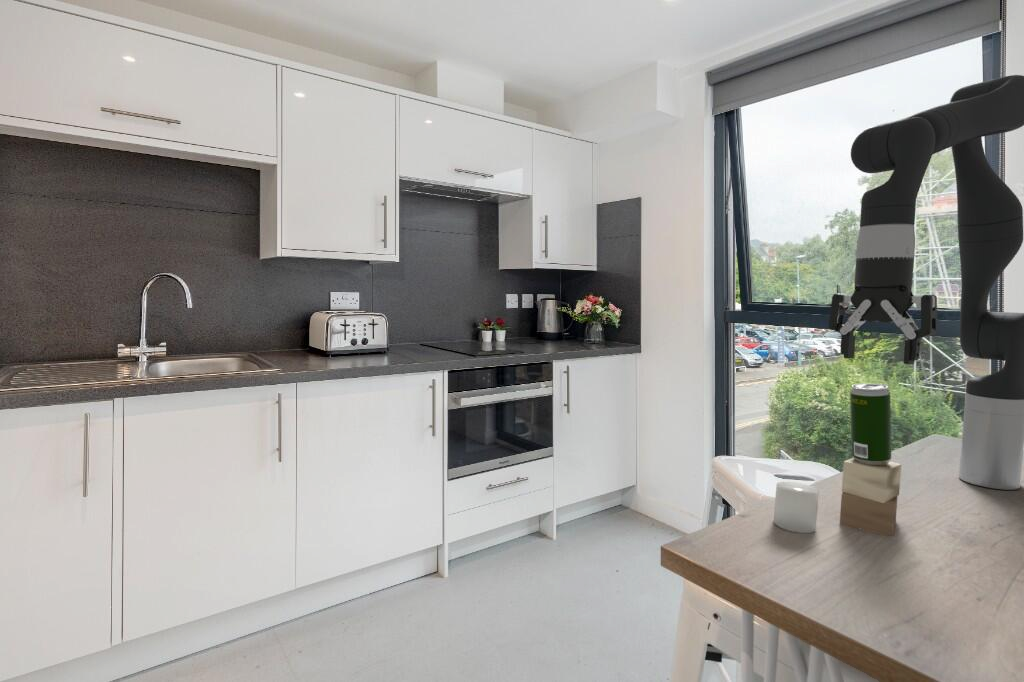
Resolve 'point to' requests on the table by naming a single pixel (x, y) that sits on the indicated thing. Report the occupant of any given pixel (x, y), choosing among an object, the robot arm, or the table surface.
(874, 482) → the top block
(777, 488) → the white rounded cylinder
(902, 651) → the table surface
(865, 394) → the guarana soda can
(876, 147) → the robot arm
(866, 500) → the base block
